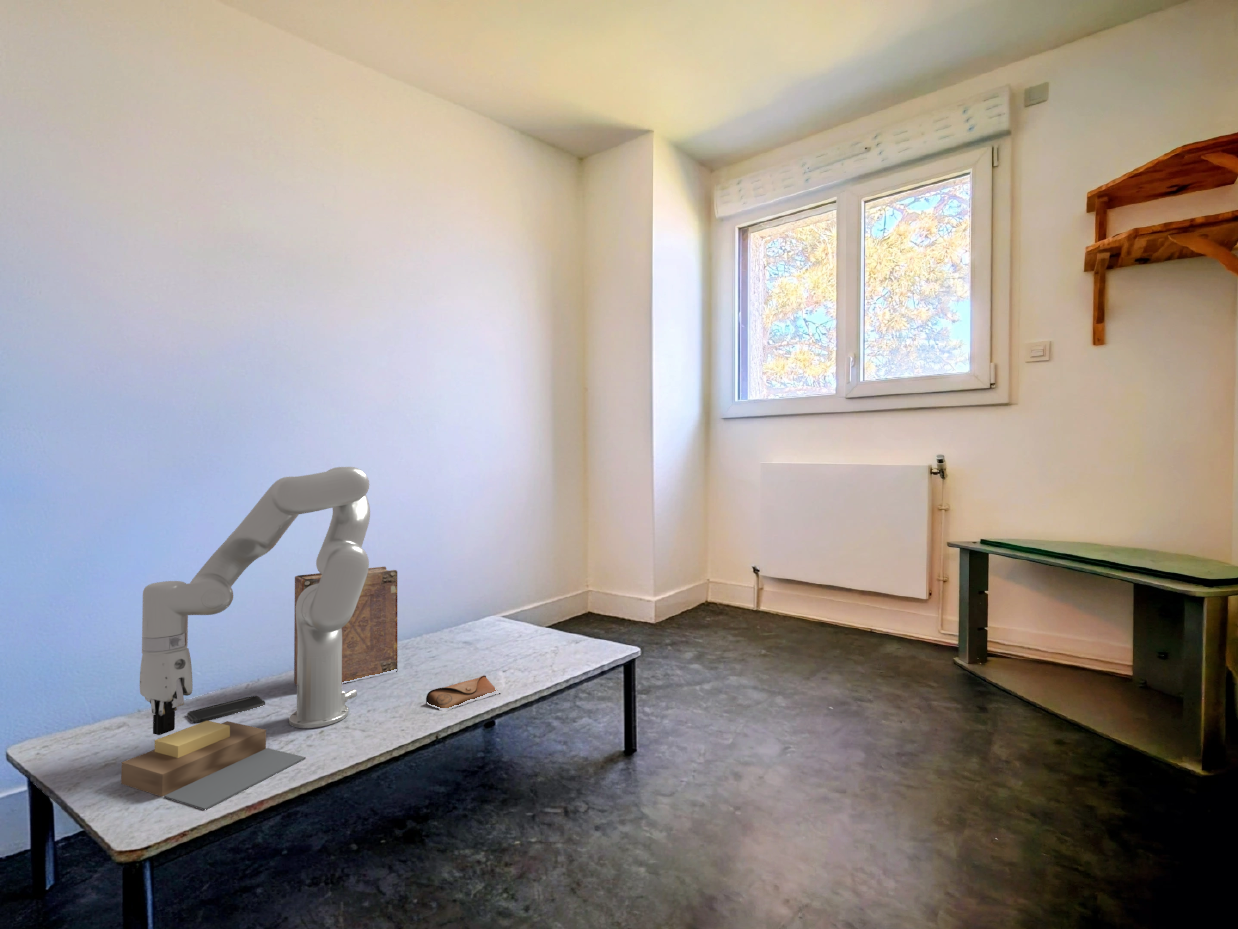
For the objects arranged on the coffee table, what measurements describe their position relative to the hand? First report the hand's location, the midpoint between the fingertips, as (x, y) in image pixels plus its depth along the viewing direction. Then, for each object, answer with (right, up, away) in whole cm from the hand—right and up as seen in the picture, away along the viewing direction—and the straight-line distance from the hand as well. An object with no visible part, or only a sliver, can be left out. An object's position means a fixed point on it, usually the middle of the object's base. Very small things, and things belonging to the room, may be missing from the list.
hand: (163, 732), depth 121 cm
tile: (+8, -1, -3) cm, 9 cm away
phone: (-3, -6, +24) cm, 24 cm away
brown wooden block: (+10, -5, -4) cm, 12 cm away
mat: (+21, -5, -9) cm, 23 cm away
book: (+16, -6, +47) cm, 50 cm away
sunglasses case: (+54, -6, +31) cm, 63 cm away
